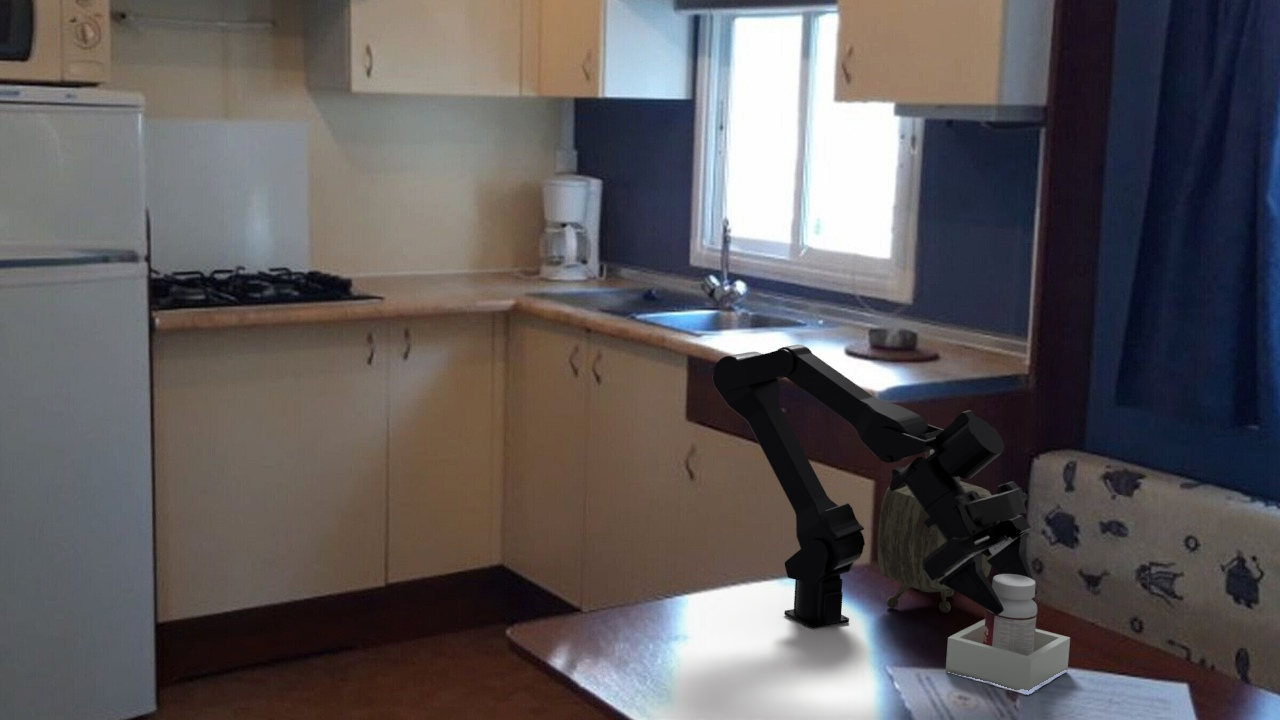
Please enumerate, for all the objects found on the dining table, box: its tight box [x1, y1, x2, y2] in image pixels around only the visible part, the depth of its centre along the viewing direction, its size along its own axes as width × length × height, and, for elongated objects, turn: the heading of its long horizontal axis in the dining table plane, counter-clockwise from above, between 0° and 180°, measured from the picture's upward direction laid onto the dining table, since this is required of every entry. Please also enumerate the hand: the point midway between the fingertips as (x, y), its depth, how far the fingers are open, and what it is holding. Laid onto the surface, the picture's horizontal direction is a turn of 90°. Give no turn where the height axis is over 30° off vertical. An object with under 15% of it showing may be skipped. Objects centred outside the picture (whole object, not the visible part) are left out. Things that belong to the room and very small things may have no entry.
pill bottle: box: [983, 573, 1038, 656], centre depth 193 cm, size 6×6×11 cm
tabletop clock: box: [877, 451, 993, 614], centre depth 215 cm, size 14×9×25 cm, turn 124°
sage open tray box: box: [945, 618, 1071, 691], centre depth 193 cm, size 11×11×4 cm
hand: (1017, 604), depth 192 cm, fingers open, 9 cm apart
